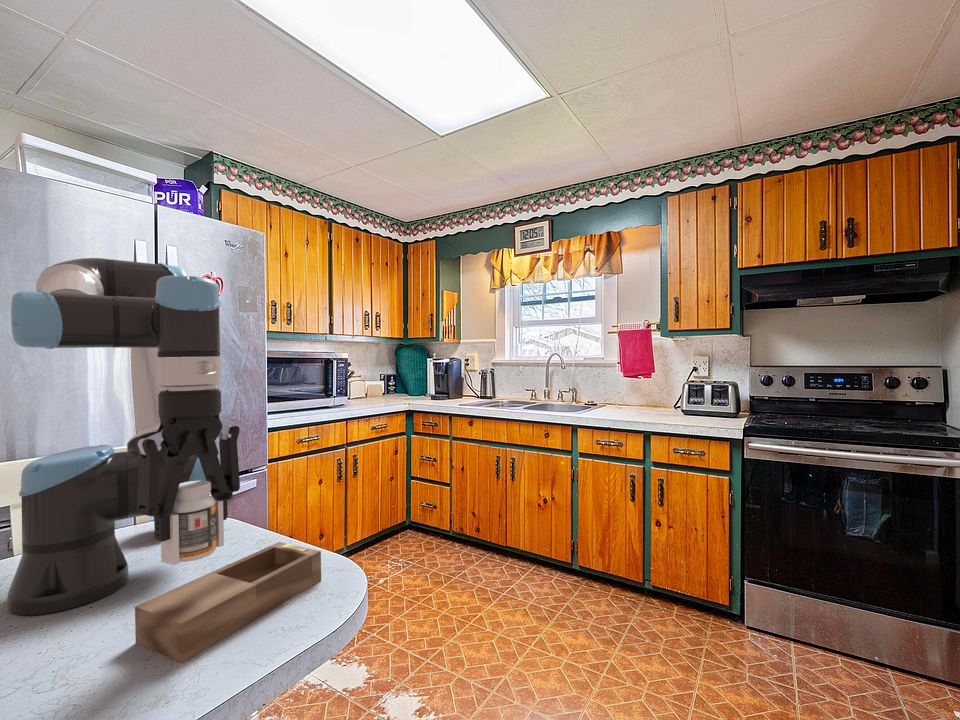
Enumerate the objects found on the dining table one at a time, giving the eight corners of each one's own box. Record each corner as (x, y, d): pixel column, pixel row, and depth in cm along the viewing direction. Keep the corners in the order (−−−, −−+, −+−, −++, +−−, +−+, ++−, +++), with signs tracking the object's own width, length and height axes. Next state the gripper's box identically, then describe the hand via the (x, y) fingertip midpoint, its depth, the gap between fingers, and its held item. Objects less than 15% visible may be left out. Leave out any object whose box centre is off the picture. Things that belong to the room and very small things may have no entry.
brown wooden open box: (135, 643, 64) (134, 604, 64) (279, 569, 86) (279, 540, 85) (182, 662, 60) (181, 622, 59) (321, 579, 81) (320, 549, 81)
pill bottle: (223, 553, 66) (222, 483, 66) (177, 567, 62) (176, 492, 62) (207, 543, 70) (205, 477, 70) (162, 556, 66) (161, 485, 66)
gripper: (132, 393, 56) (136, 588, 56) (265, 384, 73) (268, 533, 73) (97, 392, 59) (101, 576, 59) (232, 384, 76) (235, 527, 76)
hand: (193, 552), depth 66 cm, fingers closed on pill bottle, 6 cm apart
